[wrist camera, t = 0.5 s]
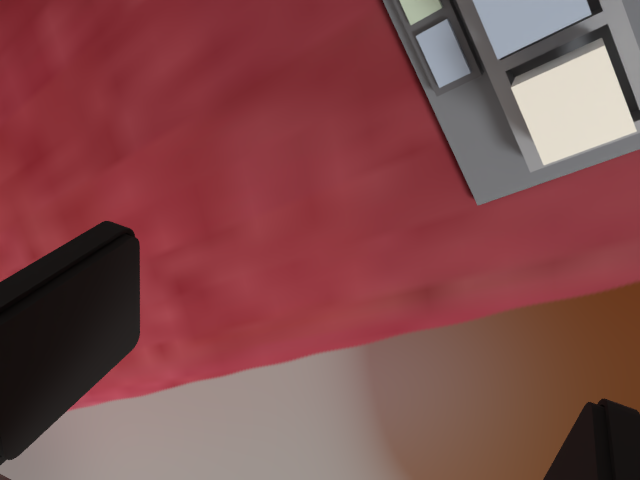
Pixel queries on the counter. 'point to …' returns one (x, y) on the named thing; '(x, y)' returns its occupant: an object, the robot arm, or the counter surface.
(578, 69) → the cream key
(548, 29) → the slate key
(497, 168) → the keypad board
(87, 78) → the counter surface
